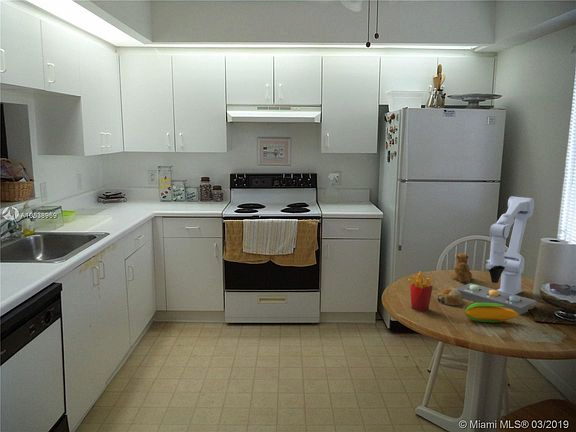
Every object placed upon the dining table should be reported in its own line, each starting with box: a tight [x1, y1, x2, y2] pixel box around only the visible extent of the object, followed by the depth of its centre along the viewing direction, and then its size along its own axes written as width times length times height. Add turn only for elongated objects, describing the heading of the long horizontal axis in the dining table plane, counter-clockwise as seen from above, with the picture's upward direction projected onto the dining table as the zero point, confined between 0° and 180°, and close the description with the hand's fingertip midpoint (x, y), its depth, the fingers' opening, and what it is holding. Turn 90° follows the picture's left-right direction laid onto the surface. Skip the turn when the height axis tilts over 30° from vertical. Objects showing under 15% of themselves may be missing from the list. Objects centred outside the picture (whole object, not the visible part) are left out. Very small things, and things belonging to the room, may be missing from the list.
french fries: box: [407, 271, 434, 312], centre depth 194 cm, size 9×8×15 cm
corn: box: [464, 302, 519, 323], centre depth 182 cm, size 7×8×20 cm
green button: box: [469, 284, 480, 292], centre depth 212 cm, size 4×4×3 cm
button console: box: [453, 282, 538, 316], centre depth 205 cm, size 14×30×3 cm, turn 39°
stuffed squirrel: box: [450, 252, 473, 284], centre depth 234 cm, size 10×14×13 cm
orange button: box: [489, 289, 499, 297], centre depth 205 cm, size 4×4×3 cm
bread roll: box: [437, 287, 463, 306], centre depth 203 cm, size 10×10×8 cm
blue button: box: [509, 294, 520, 303], centre depth 198 cm, size 4×4×3 cm
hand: (494, 282), depth 204 cm, fingers closed
